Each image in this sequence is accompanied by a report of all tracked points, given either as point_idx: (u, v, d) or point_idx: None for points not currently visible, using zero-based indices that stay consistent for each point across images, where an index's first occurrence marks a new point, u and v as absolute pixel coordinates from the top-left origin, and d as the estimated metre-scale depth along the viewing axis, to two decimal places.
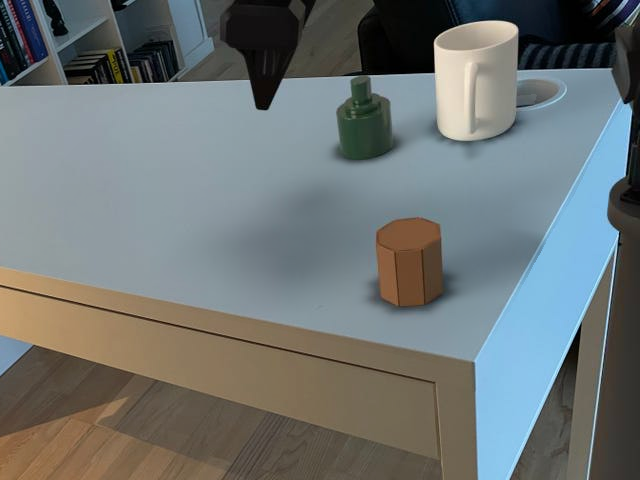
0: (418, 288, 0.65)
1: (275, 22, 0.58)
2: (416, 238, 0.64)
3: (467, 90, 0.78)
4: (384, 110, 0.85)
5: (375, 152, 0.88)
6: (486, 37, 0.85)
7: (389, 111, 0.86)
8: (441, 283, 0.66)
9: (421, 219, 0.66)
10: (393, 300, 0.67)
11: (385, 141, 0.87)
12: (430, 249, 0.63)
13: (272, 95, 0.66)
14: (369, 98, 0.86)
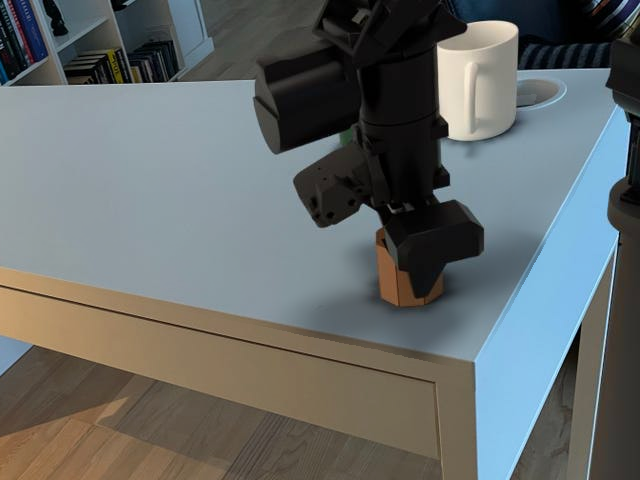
0: None
1: (461, 238, 0.54)
2: None
3: (467, 90, 0.78)
4: None
5: None
6: (486, 37, 0.85)
7: None
8: (441, 283, 0.66)
9: None
10: (393, 300, 0.67)
11: None
12: None
13: (433, 282, 0.63)
14: None
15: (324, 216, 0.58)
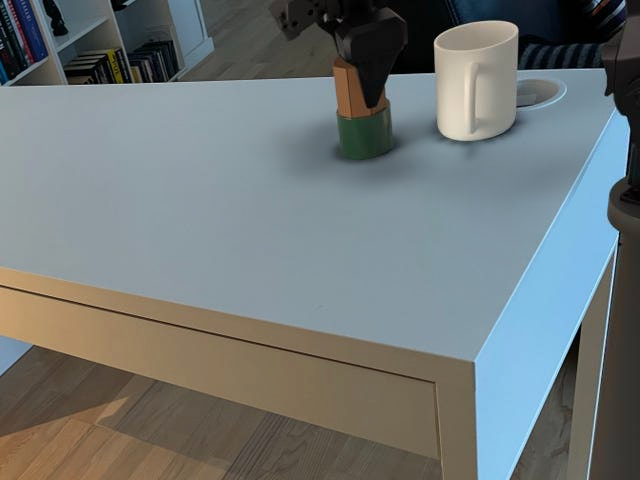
0: None
1: (390, 30, 0.73)
2: None
3: (467, 90, 0.78)
4: (384, 110, 0.85)
5: (375, 152, 0.88)
6: (486, 37, 0.85)
7: (389, 111, 0.86)
8: (384, 98, 0.85)
9: None
10: (347, 114, 0.86)
11: (385, 141, 0.87)
12: None
13: (380, 92, 0.81)
14: None
15: (290, 24, 0.77)
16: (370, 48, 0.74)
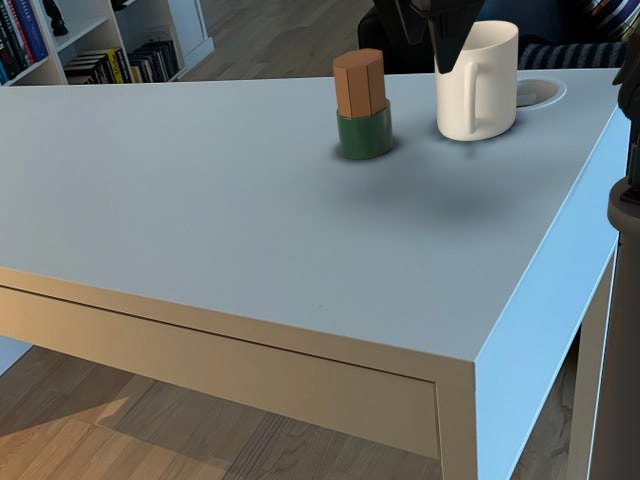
0: (365, 100, 0.84)
1: None
2: (363, 60, 0.83)
3: (467, 90, 0.78)
4: (384, 110, 0.85)
5: (375, 152, 0.88)
6: (486, 37, 0.85)
7: (389, 111, 0.86)
8: (384, 98, 0.85)
9: (369, 49, 0.85)
10: (347, 114, 0.86)
11: (385, 141, 0.87)
12: (373, 66, 0.82)
13: (457, 54, 0.68)
14: None
15: None
16: None
